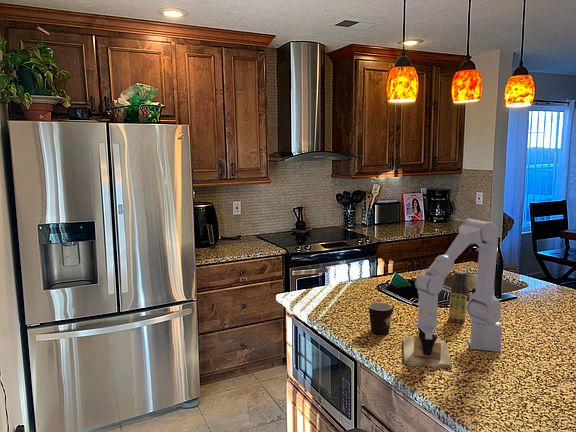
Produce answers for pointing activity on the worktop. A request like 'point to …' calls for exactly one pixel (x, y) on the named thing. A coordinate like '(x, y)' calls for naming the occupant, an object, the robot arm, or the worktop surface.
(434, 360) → the board
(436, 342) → the block
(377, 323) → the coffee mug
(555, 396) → the worktop surface
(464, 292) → the sauce bottle
